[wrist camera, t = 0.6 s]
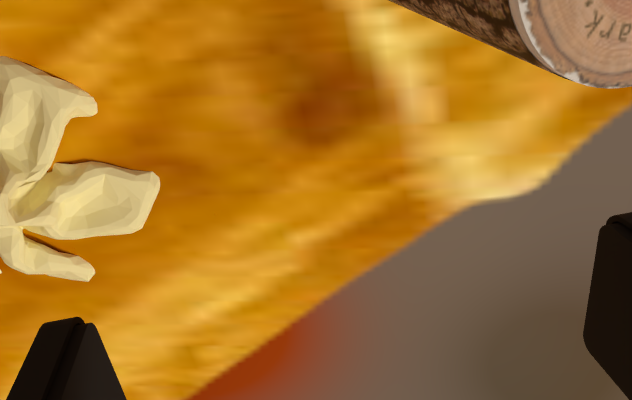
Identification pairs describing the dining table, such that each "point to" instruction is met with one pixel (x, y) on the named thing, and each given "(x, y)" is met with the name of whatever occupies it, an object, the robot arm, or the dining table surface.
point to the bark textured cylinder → (548, 33)
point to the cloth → (57, 177)
